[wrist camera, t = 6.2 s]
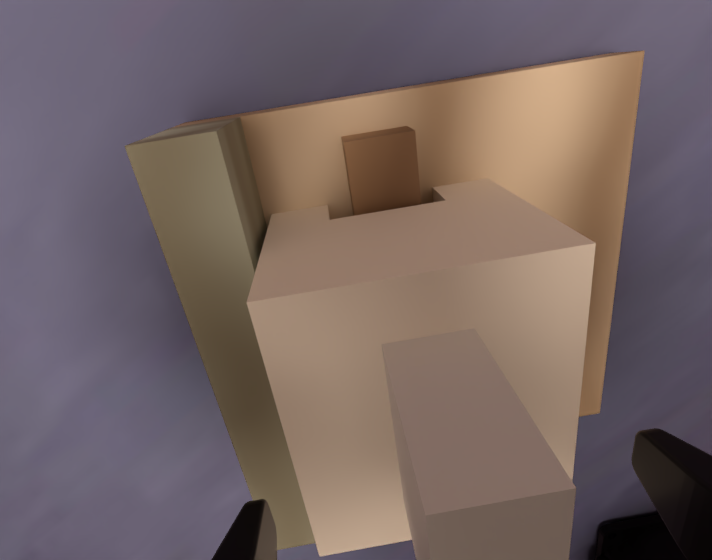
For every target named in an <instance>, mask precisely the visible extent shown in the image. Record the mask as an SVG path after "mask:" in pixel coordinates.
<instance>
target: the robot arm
mask: <svg viewBox="0 0 712 560" xmlns="http://www.w3.org/2000/svg"><path fill="white" fill-rule="evenodd" d="M632 465H633V468H634V471H635V473H636V474H637V476H638V478H639V480H640V481H641V483H642V485H643V487H644V488H645V490H646V492H647V494H648V495H649V497H650V499H651V500H652V502H653V504H654V506H655V507H656V509H657V511H658V513H659V514H658V515H653V516H647V517H642V518H636V519H631V520H625V521H620V522H615V523H609V524H606V525H604V526H602V527H601V528H600V530H599V536H598V543H597V550H596V557H595V560H712V456H711V455H709V454H708V453H706V452H704V451H702V450H700V449H698V448H696V447H694V446H692V445H690V444H688V443H686V442H685V441H683V440H681V439H679V438H677V437H675V436H673V435H671V434H669V433H667V432H665V431H663V430H661V429H657V428H654V429H648V430H642V431H639V432H638V433H637V434H636V436H635V442H634V448H633V453H632ZM212 560H277V531H276V525H275V522H274V519H273V516H272V513H271V510H270V507H269V504H268V502H267V501H266V500H265V499H259V500H254V501H249V502H247V503H245V505H244V506H243V507H242V509H241V511H240V512H239V514H238V516H237V518H236V519H235V521H234V523H233V524H232V526H231V528H230V529H229V531H228V533H227V534H226V536H225V538H224V539H223V541H222V543H221V544H220V546H219V548H218V550H217V551H216V553H215V555H214V556H213V558H212Z"/></svg>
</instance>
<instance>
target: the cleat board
mask: <svg viewBox="0 0 712 560" xmlns="http://www.w3.org/2000/svg"><path fill="white" fill-rule="evenodd" d="M643 59H644V51H633V52H618V53H609V54H603V55H597V56H591V57H584V58H578V59H572V60H566V61H560V62H554V63H548V64H541V65H535V66H529V67H523V68H517V69H511V70H505V71H499V72H492V73H486V74H480V75H474V76H468V77H462V78H456V79H449V80H443V81H437V82H431V83H425V84H419V85H413V86H407V87H400V88H394V89H388V90H382V91H376V92H370V93H364V94H357V95H351V96H345V97H339V98H333V99H327V100H321V101H315V102H308V103H302V104H296V105H290V106H284V107H278V108H272V109H265V110H259V111H253V112H247V113H241V114H235V115H229V116H223V117H216V118H210V119H204V120H198V121H192V122H186V123H183V124H180V125H177V126H175V127H172V128H170V129H167V130H165V131H162V132H159V133H157V134H154V135H152V136H149V137H147V138H144V139H142V140H139V141H136V142H134V143H131V144H129V145H126V146H125V149H126V151H127V154H128V157H129V160H130V162H131V165H132V168H133V171H134V173H135V176H136V179H137V182H138V184H139V187H140V190H141V193H142V196H143V198H144V201H145V204H146V207H147V209H148V212H149V215H150V218H151V220H152V223H153V226H154V229H155V231H156V234H157V237H158V240H159V242H160V245H161V248H162V251H163V253H164V256H165V259H166V262H167V264H168V267H169V270H170V273H171V275H172V278H173V281H174V284H175V287H176V289H177V292H178V295H179V298H180V300H181V303H182V306H183V309H184V311H185V314H186V317H187V320H188V322H189V325H190V328H191V331H192V333H193V336H194V339H195V342H196V344H197V347H198V350H199V353H200V355H201V358H202V361H203V364H204V367H205V369H206V372H207V375H208V378H209V380H210V383H211V386H212V389H213V391H214V394H215V397H216V400H217V402H218V405H219V408H220V411H221V413H222V416H223V419H224V422H225V424H226V427H227V430H228V433H229V435H230V438H231V441H232V444H233V447H234V449H235V452H236V455H237V458H238V460H239V463H240V466H241V469H242V471H243V474H244V477H245V480H246V482H247V485H248V488H249V491H250V493H251V496H252V499H253V501H254V500H259V499H265V500H266V501H267V502H268V504H269V507H270V510H271V513H272V516H273V519H274V522H275V525H276V531H277V550H280V549H285V548H291V547H296V546H302V545H307V544H313V543H316V542H315V539H314V535H313V532H312V528H311V525H310V521H309V518H308V514H307V511H306V508H305V504H304V501H303V497H302V494H301V490H300V487H299V483H298V480H297V476H296V473H295V469H294V466H293V462H292V459H291V455H290V452H289V448H288V445H287V442H286V438H285V435H284V431H283V428H282V424H281V421H280V417H279V414H278V410H277V407H276V403H275V400H274V396H273V393H272V389H271V386H270V382H269V379H268V376H267V372H266V369H265V365H264V362H263V358H262V355H261V351H260V348H259V344H258V341H257V337H256V334H255V330H254V327H253V323H252V320H251V316H250V313H249V309H248V306H247V299H248V296H249V292H250V289H251V285H252V282H253V278H254V275H255V271H256V268H257V264H258V260H259V257H260V253H261V250H262V246H263V243H264V239H265V236H266V232H267V229H268V225H269V222H270V218H271V215H272V214H275V213H281V212H287V211H293V210H299V209H305V208H311V207H317V206H323V205H328V210H329V215H330V220H331V219H337V218H343V217H349V216H355V215H361V214H367V213H373V212H379V211H385V210H391V209H397V208H403V207H409V206H415V205H421V204H427V203H433V189H432V187H437V186H443V185H449V184H455V183H461V182H467V181H473V180H479V179H485V178H488V179H490V180H491V181H493V182H495V183H496V184H498V185H500V186H501V187H503V188H505V189H506V190H508V191H510V192H511V193H513V194H515V195H516V196H518V197H520V198H521V199H523V200H525V201H526V202H528V203H530V204H531V205H533V206H535V207H536V208H538V209H540V210H541V211H543V212H545V213H546V214H548V215H550V216H551V217H553V218H555V219H556V220H558V221H560V222H561V223H563V224H565V225H567V226H568V227H570V228H572V229H573V230H575V231H577V232H578V233H580V234H582V235H583V236H585V237H587V238H588V239H590V240H592V241H593V242H595V243H596V246H595V256H594V266H593V276H592V287H591V297H590V307H589V317H588V327H587V337H586V347H585V358H584V368H583V378H582V388H581V398H580V408H579V417H580V416H586V415H591V414H597V413H600V406H601V398H602V390H603V382H604V374H605V366H606V358H607V350H608V341H609V333H610V325H611V317H612V309H613V301H614V293H615V285H616V277H617V269H618V261H619V253H620V244H621V236H622V228H623V220H624V212H625V204H626V196H627V188H628V180H629V172H630V164H631V156H632V148H633V139H634V131H635V123H636V115H637V107H638V99H639V91H640V83H641V75H642V67H643Z"/></svg>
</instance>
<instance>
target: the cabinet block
mask: <svg viewBox="0 0 712 560" xmlns="http://www.w3.org/2000/svg"><path fill="white" fill-rule="evenodd" d="M432 189H433V203H427V204H421V205H415V206H409V207H403V208H397V209H391V210H385V211H379V212H373V213H367V214H361V215H355V216H349V217H343V218H337V219H331V220H330V215H329V210H328V205H323V206H317V207H311V208H305V209H299V210H293V211H287V212H281V213H275V214H272V215H271V218H270V222H269V225H268V229H267V232H266V236H265V239H264V243H263V246H262V250H261V253H260V257H259V260H258V264H257V268H256V271H255V275H254V278H253V282H252V285H251V289H250V292H249V296H248V299H247V306H248V309H249V313H250V316H251V320H252V323H253V327H254V330H255V334H256V337H257V341H258V344H259V348H260V351H261V355H262V358H263V362H264V365H265V369H266V372H267V376H268V379H269V382H270V386H271V389H272V393H273V396H274V400H275V403H276V407H277V410H278V414H279V417H280V421H281V424H282V428H283V431H284V435H285V438H286V442H287V445H288V448H289V452H290V455H291V459H292V462H293V466H294V469H295V473H296V476H297V480H298V483H299V487H300V490H301V494H302V497H303V501H304V504H305V508H306V511H307V514H308V518H309V521H310V525H311V528H312V532H313V535H314V539H315V542H316V546H317V549H318V553H319V556H325V555H331V554H336V553H342V552H347V551H353V550H358V549H364V548H369V547H375V546H380V545H386V544H391V543H397V542H402V541H408V540H412V542H413V547H414V551H415V556H416V560H569V552H570V542H571V533H572V523H573V514H574V504H575V494H576V487H575V485H574V484H573V482H572V479H573V469H574V459H575V449H576V439H577V429H578V418H579V408H580V398H581V388H582V378H583V368H584V358H585V347H586V337H587V327H588V317H589V307H590V297H591V287H592V276H593V266H594V256H595V246H596V243H595V242H593V241H592V240H590V239H588V238H587V237H585V236H583V235H582V234H580V233H578V232H577V231H575V230H573V229H572V228H570V227H568V226H567V225H565V224H563V223H561V222H560V221H558V220H556V219H555V218H553V217H551V216H550V215H548V214H546V213H545V212H543V211H541V210H540V209H538V208H536V207H535V206H533V205H531V204H530V203H528V202H526V201H525V200H523V199H521V198H520V197H518V196H516V195H515V194H513V193H511V192H510V191H508V190H506V189H505V188H503V187H501V186H500V185H498V184H496V183H495V182H493V181H491V180H490V179H488V178H485V179H479V180H473V181H467V182H461V183H455V184H449V185H443V186H437V187H432Z"/></svg>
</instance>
